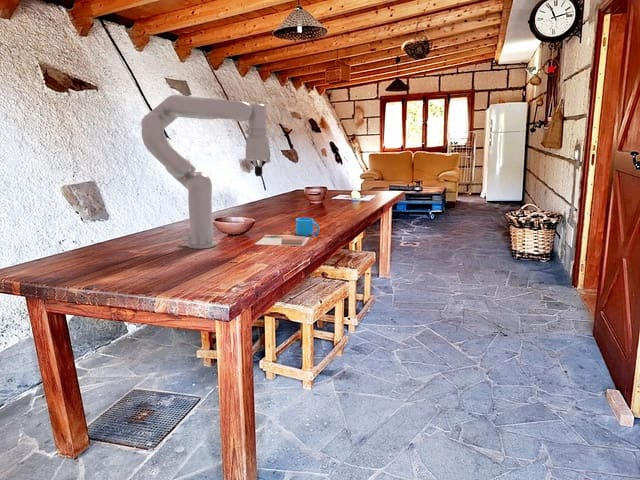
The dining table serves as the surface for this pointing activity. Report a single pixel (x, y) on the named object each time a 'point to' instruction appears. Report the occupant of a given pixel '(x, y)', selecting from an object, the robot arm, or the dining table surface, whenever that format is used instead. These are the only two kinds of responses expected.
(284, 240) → the tile
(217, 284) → the dining table surface
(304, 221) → the mug
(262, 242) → the board
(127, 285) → the dining table surface
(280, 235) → the turner
